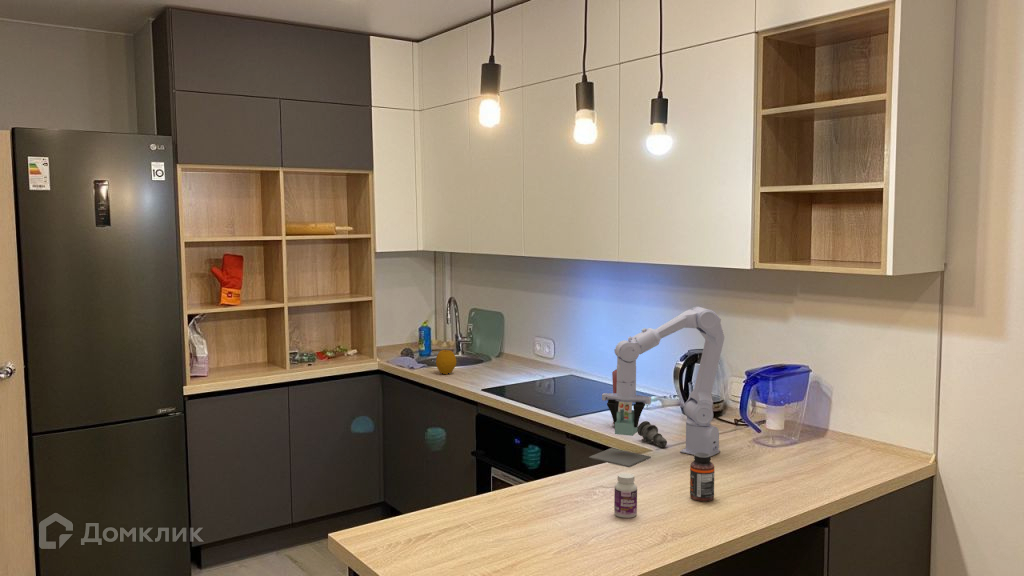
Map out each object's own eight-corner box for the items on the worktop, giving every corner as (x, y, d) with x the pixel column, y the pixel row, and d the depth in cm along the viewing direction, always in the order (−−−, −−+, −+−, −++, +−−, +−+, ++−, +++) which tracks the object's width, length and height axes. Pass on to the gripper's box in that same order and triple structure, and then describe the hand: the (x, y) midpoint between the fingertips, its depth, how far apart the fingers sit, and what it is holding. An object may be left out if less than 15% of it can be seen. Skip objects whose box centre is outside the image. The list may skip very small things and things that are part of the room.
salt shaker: (643, 439, 255) (666, 457, 245) (633, 431, 252) (655, 448, 242) (654, 425, 255) (677, 442, 245) (644, 417, 252) (666, 433, 242)
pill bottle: (621, 520, 185) (622, 480, 184) (610, 512, 190) (610, 473, 189) (641, 516, 187) (641, 476, 186) (629, 509, 192) (629, 470, 191)
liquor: (618, 430, 265) (618, 348, 263) (608, 425, 272) (608, 345, 270) (637, 428, 268) (637, 347, 266) (627, 423, 275) (627, 344, 272)
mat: (650, 457, 234) (650, 456, 234) (629, 467, 225) (629, 465, 225) (611, 449, 243) (611, 447, 243) (588, 458, 234) (588, 456, 234)
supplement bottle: (687, 494, 202) (688, 451, 202) (711, 494, 202) (711, 451, 201) (692, 502, 197) (692, 457, 196) (716, 502, 196) (717, 457, 195)
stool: (637, 431, 238) (637, 410, 237) (632, 435, 233) (632, 414, 232) (619, 429, 240) (619, 408, 240) (614, 434, 235) (614, 412, 235)
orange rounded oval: (461, 373, 369) (460, 349, 368) (445, 376, 362) (445, 351, 361) (447, 371, 376) (446, 347, 375) (431, 374, 369) (431, 349, 368)
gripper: (653, 380, 236) (652, 424, 237) (606, 376, 242) (606, 420, 243) (647, 384, 230) (647, 430, 231) (600, 381, 235) (599, 425, 236)
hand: (625, 425), depth 236 cm, fingers closed on stool, 5 cm apart
